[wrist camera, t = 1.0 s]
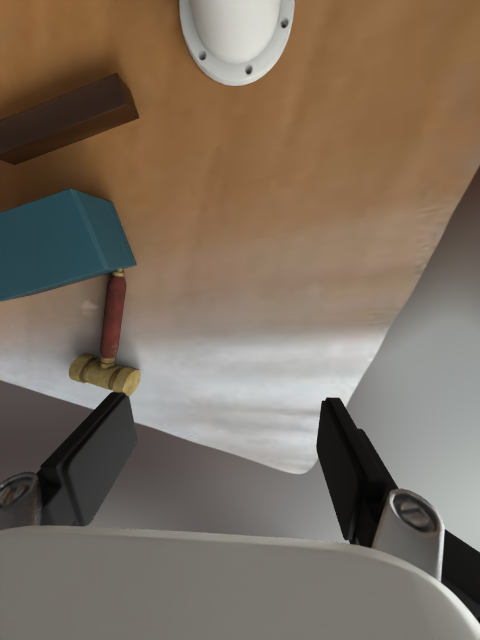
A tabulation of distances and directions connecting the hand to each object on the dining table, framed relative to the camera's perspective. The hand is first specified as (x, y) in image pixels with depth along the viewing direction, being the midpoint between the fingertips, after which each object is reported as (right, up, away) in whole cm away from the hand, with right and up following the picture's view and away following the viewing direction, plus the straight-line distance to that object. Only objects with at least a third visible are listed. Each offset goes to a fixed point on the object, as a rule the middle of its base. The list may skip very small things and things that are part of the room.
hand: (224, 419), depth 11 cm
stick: (-22, +30, +19) cm, 42 cm away
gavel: (-20, +4, +28) cm, 34 cm away
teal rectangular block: (-25, +15, +24) cm, 38 cm away
